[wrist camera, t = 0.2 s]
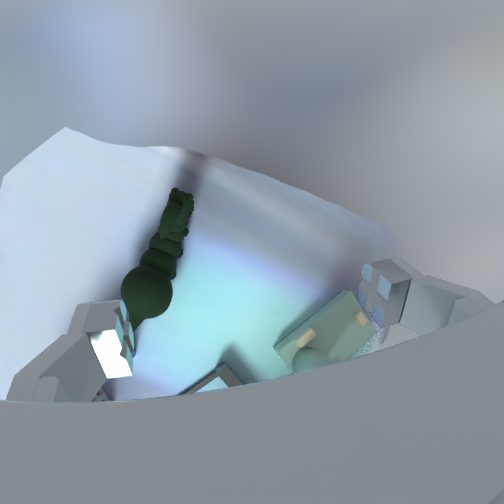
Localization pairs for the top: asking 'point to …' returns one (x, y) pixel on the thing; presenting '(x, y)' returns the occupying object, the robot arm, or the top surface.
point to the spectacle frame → (223, 373)
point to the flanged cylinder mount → (327, 335)
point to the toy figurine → (158, 263)
